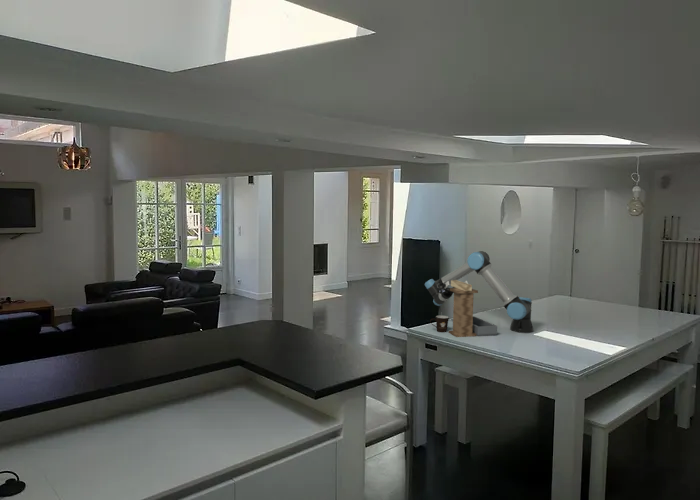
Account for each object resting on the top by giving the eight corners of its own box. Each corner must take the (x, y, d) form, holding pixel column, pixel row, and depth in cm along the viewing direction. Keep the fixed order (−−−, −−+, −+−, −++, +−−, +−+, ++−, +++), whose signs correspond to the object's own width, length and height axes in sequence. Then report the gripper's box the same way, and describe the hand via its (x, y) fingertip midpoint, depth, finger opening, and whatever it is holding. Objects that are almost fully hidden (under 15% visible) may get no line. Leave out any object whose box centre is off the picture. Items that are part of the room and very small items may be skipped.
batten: (456, 286, 364) (456, 280, 364) (471, 291, 343) (471, 284, 342) (450, 286, 363) (451, 280, 363) (465, 291, 342) (466, 285, 341)
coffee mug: (449, 331, 361) (450, 316, 360) (446, 333, 353) (446, 318, 353) (432, 328, 366) (433, 314, 365) (429, 331, 358) (429, 316, 357)
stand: (467, 331, 359) (469, 287, 357) (476, 336, 347) (477, 290, 345) (448, 332, 355) (449, 288, 353) (456, 337, 344) (458, 291, 341)
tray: (473, 324, 382) (473, 316, 382) (497, 335, 351) (497, 326, 351) (455, 325, 378) (456, 317, 378) (477, 336, 348) (478, 327, 347)
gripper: (462, 298, 377) (475, 287, 358) (430, 299, 371) (441, 288, 352) (460, 288, 380) (473, 277, 362) (428, 289, 374) (439, 278, 355)
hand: (457, 282), depth 357 cm, fingers open, 13 cm apart
